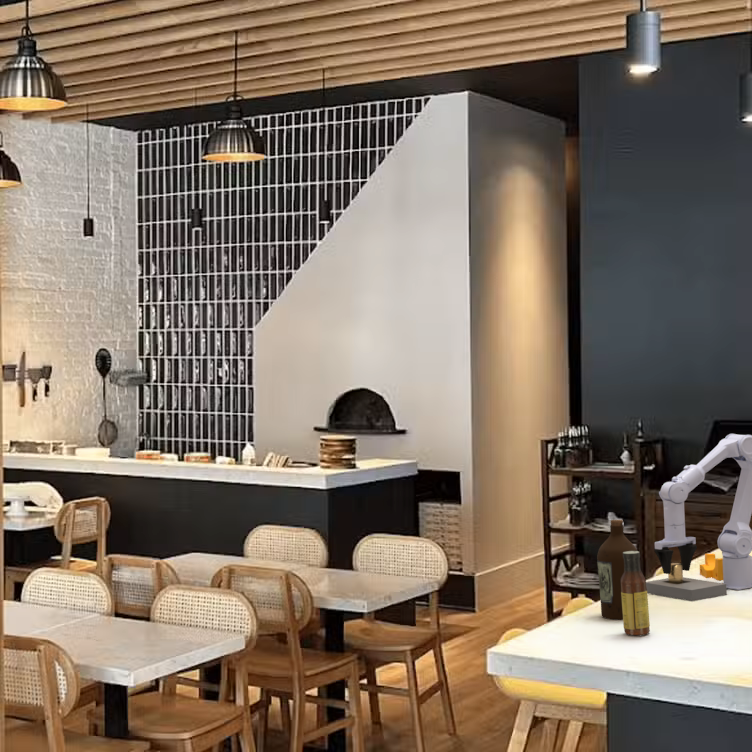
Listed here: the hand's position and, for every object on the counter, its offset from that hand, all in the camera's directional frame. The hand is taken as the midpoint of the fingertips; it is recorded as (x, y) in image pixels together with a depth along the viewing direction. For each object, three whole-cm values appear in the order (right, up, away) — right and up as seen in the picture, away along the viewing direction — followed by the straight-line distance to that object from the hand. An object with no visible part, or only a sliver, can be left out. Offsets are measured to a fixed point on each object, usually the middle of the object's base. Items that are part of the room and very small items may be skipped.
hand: (676, 572), depth 355 cm
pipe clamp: (+17, -6, +23) cm, 29 cm away
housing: (+2, -6, -3) cm, 7 cm away
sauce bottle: (-23, -7, -53) cm, 58 cm away
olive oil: (-22, -7, -31) cm, 39 cm away
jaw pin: (0, -6, 0) cm, 6 cm away
